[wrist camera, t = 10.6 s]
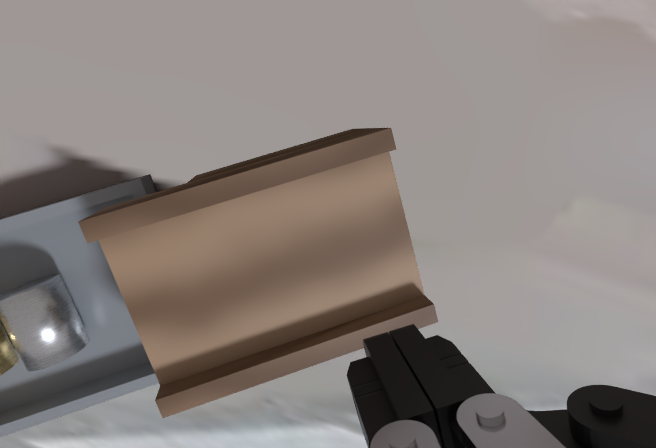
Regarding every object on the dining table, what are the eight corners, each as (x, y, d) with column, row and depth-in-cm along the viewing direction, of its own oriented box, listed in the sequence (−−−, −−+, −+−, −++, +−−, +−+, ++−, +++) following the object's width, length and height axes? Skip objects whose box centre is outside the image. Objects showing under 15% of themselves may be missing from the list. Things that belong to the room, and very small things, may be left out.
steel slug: (5, 302, 27) (70, 272, 30) (-19, 302, 29) (43, 274, 32) (42, 374, 28) (101, 338, 31) (16, 368, 30) (73, 335, 33)
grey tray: (-115, 252, 30) (-154, 265, 27) (150, 174, 32) (140, 178, 29) (-20, 425, 34) (-46, 452, 31) (215, 345, 35) (212, 364, 32)
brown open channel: (127, 196, 32) (78, 221, 23) (352, 128, 34) (391, 127, 25) (186, 342, 35) (162, 418, 26) (391, 274, 37) (438, 321, 27)
